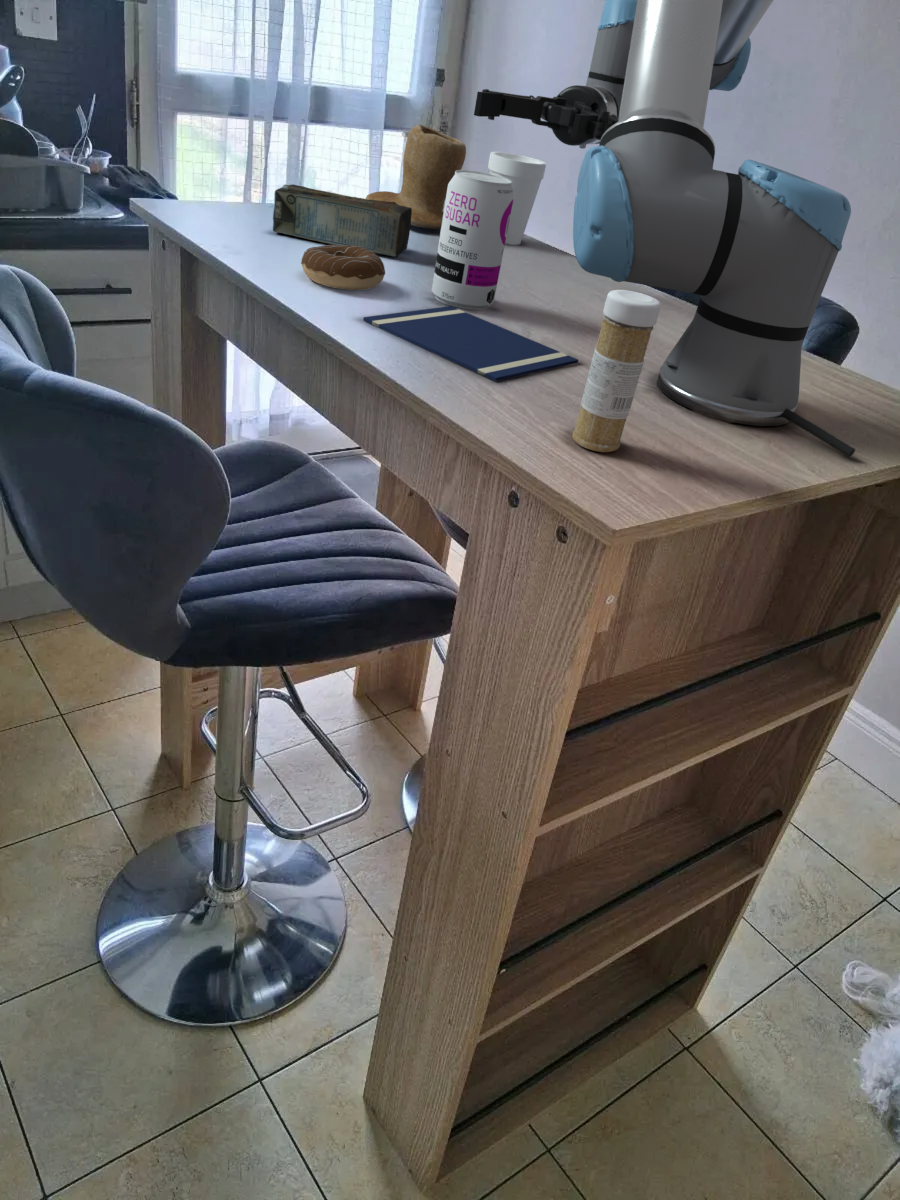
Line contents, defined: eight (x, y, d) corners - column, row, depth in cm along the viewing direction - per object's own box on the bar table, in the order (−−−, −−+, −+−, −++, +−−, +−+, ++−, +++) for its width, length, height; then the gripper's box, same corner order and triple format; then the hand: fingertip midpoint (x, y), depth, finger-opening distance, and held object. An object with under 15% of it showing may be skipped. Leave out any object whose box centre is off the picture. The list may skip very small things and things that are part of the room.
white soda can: (494, 299, 120) (517, 178, 112) (490, 315, 113) (515, 188, 105) (434, 287, 120) (453, 166, 112) (427, 303, 113) (447, 174, 105)
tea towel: (577, 363, 103) (578, 359, 102) (495, 381, 92) (496, 377, 92) (450, 309, 112) (450, 305, 112) (363, 320, 102) (363, 316, 102)
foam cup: (525, 250, 151) (542, 166, 144) (472, 238, 152) (486, 154, 145) (532, 240, 159) (548, 161, 152) (481, 229, 160) (495, 149, 153)
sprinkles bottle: (607, 434, 85) (648, 290, 78) (627, 455, 81) (671, 306, 74) (563, 432, 84) (600, 285, 76) (581, 453, 80) (621, 301, 73)
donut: (380, 300, 111) (384, 266, 108) (294, 285, 110) (297, 251, 107) (385, 279, 120) (389, 248, 117) (306, 265, 118) (308, 233, 116)
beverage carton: (287, 224, 137) (290, 177, 134) (409, 250, 136) (415, 204, 133) (270, 233, 130) (273, 184, 127) (398, 260, 130) (405, 212, 126)
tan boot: (466, 235, 153) (483, 139, 145) (407, 233, 147) (421, 131, 139) (419, 213, 163) (432, 121, 155) (362, 210, 156) (372, 114, 148)
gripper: (657, 163, 128) (610, 170, 111) (500, 126, 135) (434, 127, 118) (672, 104, 124) (627, 102, 107) (510, 69, 131) (444, 61, 114)
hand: (526, 115), depth 113 cm, fingers open, 13 cm apart
